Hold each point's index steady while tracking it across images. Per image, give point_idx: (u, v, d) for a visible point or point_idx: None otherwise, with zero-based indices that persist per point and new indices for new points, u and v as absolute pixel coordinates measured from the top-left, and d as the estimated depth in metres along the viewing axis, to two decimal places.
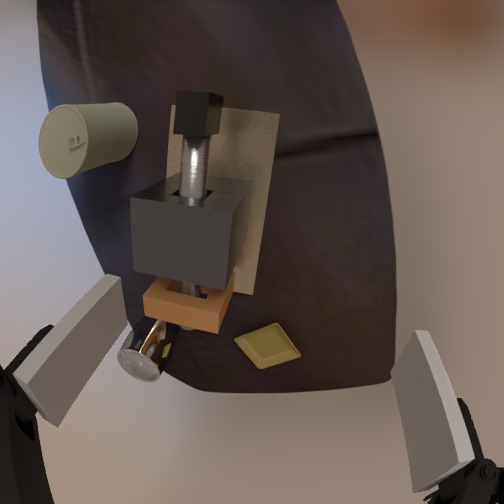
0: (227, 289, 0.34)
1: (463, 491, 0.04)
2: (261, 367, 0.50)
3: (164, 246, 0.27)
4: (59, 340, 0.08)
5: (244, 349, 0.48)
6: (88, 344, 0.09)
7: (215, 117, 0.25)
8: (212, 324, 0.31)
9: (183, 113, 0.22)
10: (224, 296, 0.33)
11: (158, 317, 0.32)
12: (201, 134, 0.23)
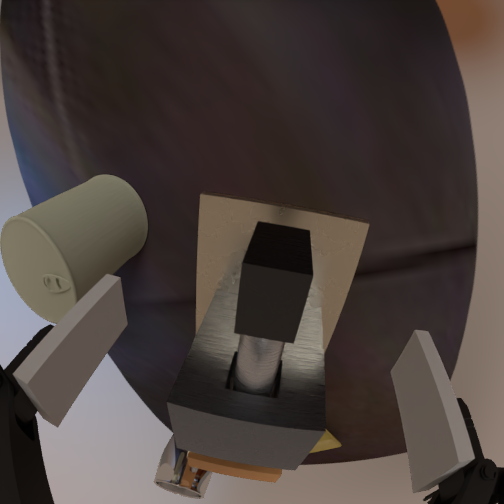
0: None
1: (463, 491, 0.04)
2: None
3: (222, 444, 0.17)
4: (59, 340, 0.08)
5: None
6: (88, 344, 0.09)
7: None
8: (271, 478, 0.21)
9: (255, 305, 0.13)
10: None
11: (205, 469, 0.22)
12: (288, 340, 0.14)
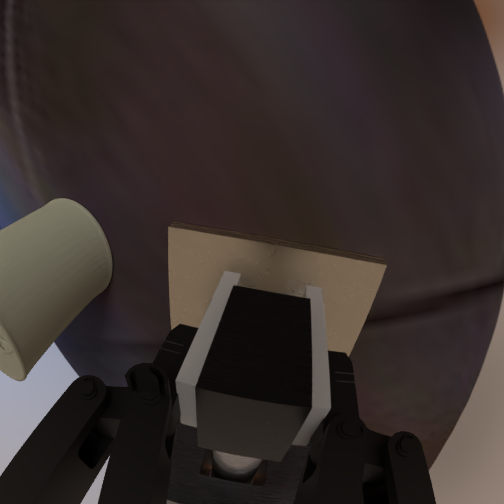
0: None
1: (322, 457, 0.06)
2: None
3: None
4: None
5: None
6: None
7: None
8: None
9: (223, 429, 0.07)
10: None
11: None
12: (273, 459, 0.08)
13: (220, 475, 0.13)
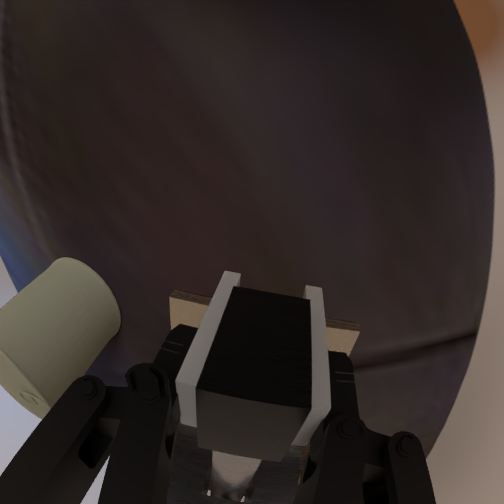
0: None
1: (321, 458, 0.06)
2: None
3: None
4: None
5: None
6: None
7: None
8: None
9: (223, 430, 0.07)
10: None
11: None
12: (272, 459, 0.08)
13: (220, 475, 0.13)
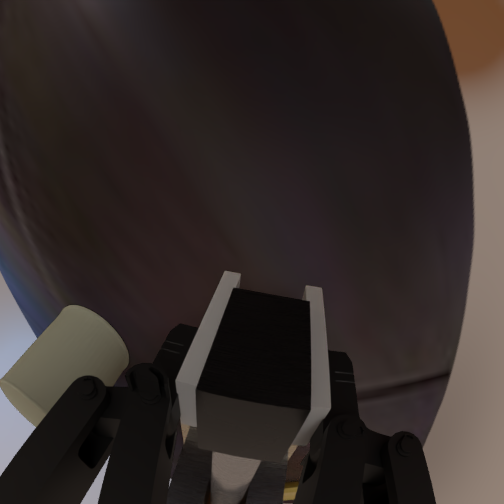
0: None
1: (321, 457, 0.06)
2: None
3: None
4: (213, 337, 0.09)
5: None
6: None
7: None
8: None
9: (222, 431, 0.07)
10: None
11: None
12: (272, 460, 0.08)
13: (220, 476, 0.13)
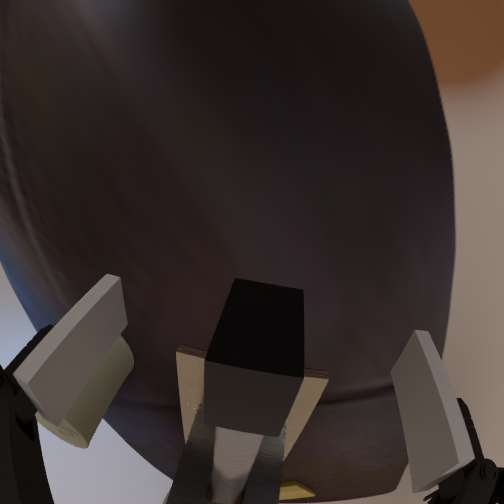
0: None
1: (464, 491, 0.04)
2: None
3: None
4: (59, 340, 0.08)
5: None
6: (88, 344, 0.09)
7: None
8: None
9: (226, 403, 0.09)
10: None
11: None
12: (271, 434, 0.10)
13: (221, 461, 0.14)
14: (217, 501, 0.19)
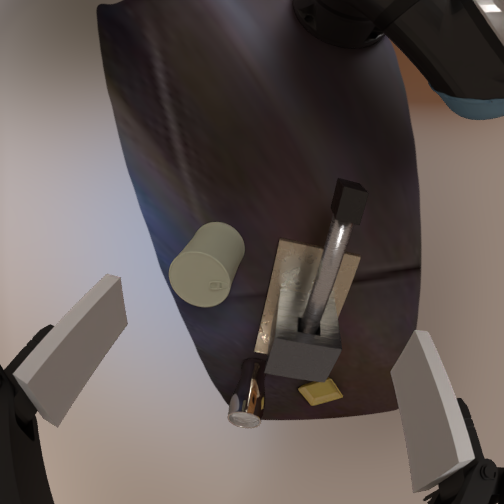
0: None
1: (463, 491, 0.04)
2: (313, 404, 0.64)
3: (292, 363, 0.41)
4: (59, 340, 0.08)
5: (304, 394, 0.62)
6: (88, 344, 0.09)
7: None
8: None
9: (346, 205, 0.31)
10: None
11: None
12: (357, 223, 0.32)
13: (325, 268, 0.36)
14: None
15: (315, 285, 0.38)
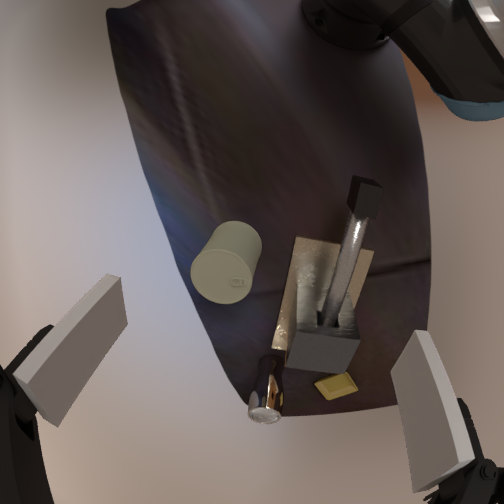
0: None
1: (463, 491, 0.04)
2: (329, 399, 0.64)
3: (313, 355, 0.42)
4: (59, 340, 0.08)
5: (320, 388, 0.63)
6: (88, 344, 0.09)
7: None
8: None
9: (363, 200, 0.32)
10: None
11: None
12: (373, 217, 0.33)
13: (343, 262, 0.37)
14: None
15: (334, 278, 0.39)
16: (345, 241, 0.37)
